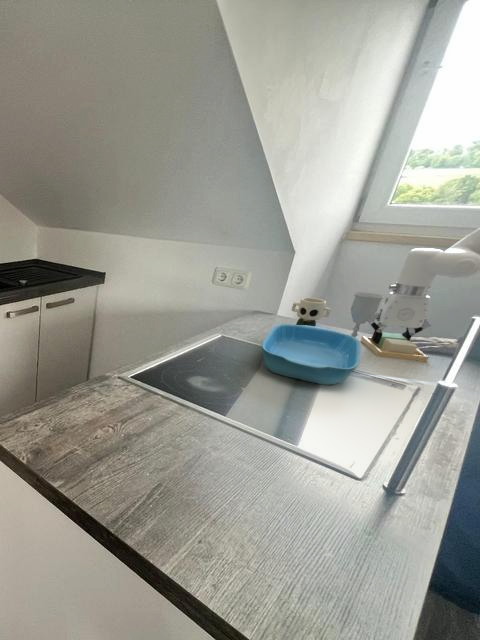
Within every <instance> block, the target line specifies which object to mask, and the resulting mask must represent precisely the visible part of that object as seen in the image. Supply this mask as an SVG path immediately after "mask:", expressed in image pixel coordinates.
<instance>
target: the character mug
mask: <svg viewBox="0 0 480 640" xmlns="http://www.w3.org/2000/svg"><path fill="white" fill-rule="evenodd" d="M326 305H327V301H326V300H325V299H321V298H315V297H302V298H301V299H300V302H293V303H292V306H291V311H292V312H295V313H296V315H297V317H298V320H297V322H296V323H295V325H307V326H315V327H317V320H320V319H322V317H324V318H329V317H330V316H331V315H330V314H331V312H332V308H330V307H328V306H326ZM297 307H298V308H297ZM324 311H326V313H324Z"/></svg>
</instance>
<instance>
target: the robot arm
mask: <svg viewBox="0 0 480 640" xmlns="http://www.w3.org/2000/svg"><path fill="white" fill-rule="evenodd" d="M479 273H480V227H479V228H476V229H475V230H473V231H472V232H470V233H468V234H467V235H466V236H464V237H462V239H460V240H458V241H457V242H455V243H454V244H453V245H451V246H450V247H449V248H447V249H446V250H445V251H444V250H443V249H438V248H427V247H419V248H418V247H417V248H413V249H411V250H410V251H409V252H408V254H407V256H406V258H405V261H404V263H403V266H402V269H401V270H400V273H399V276H398V278H397V281H396V282H395V284H390V285H389V286H388V290H391V291H390V292H389V293H388V294H387V296H386V297H385V299H384V301H383V302H382V304H381V306H380V308H379V309H378V311H377V312H376V313H375V314H374V315H373V316H372V317H371V318H370V319H369V320H368V321H367V323H368V324H369V325H370V326H371V328H372V329H373V330H374V331H373V334H372V336H371V337H372V341H373V342H374V343H375V344H379V341H380V339H381V337H382V334H383V333H382V332H383V330H385V329H386V328H387V327H396V328H397V327H398V328H405V331H404V332H402V334H401V335H403V336H404V337H405V338H407V340H408V341H411V339H412V337H413V336H415V335H416V334H417V333H420V332H422V331H423V330H425V329H428V328H430V327H431V326H432V324H431V323H430V322H429V320H427V318H426V317H427V315H428V311H429V307H430V302H431V296H429V292H430V290H431V287H432V285H433V284H434V281H435V279H436V277H437V276H441V277H446V278H451V279H468V278H471V277H473V276H476V275H477V274H479ZM375 320H376V321H377V322H378V323H376V322H375Z"/></svg>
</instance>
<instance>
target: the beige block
mask: <svg viewBox="0 0 480 640" xmlns="http://www.w3.org/2000/svg"><path fill="white" fill-rule="evenodd" d="M416 349H418V345H416V344H415V343H414V342H412V341H411V340H410V341H408V340H398V339H388V338H385V340H384V343H383V345H382V348H381V350H382V351H385V352H394V353H403V354H412V355H414V353H415V351H416Z"/></svg>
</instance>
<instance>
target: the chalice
mask: <svg viewBox="0 0 480 640" xmlns="http://www.w3.org/2000/svg"><path fill="white" fill-rule="evenodd" d="M353 294H354V299H353V302H352V304H351V307H350V314H351V319H352V323H353V322H354V323H355V326H354V327H353V328H352V330H353V331H352V333H350V336H353V337H355V338H357V336H359V334H358V332H359V331H360V326H361V325H364V324H366V323H368V320H369V319H370V318H371V317H372V316H373V315H374V314H376V313H378V310H379V307H380V304H381V301H382V300H383V299H384V298H386V297H385V295H383V294H379V293H374V292H364V291H363V292H361V291H360V292H354V293H353Z"/></svg>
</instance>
